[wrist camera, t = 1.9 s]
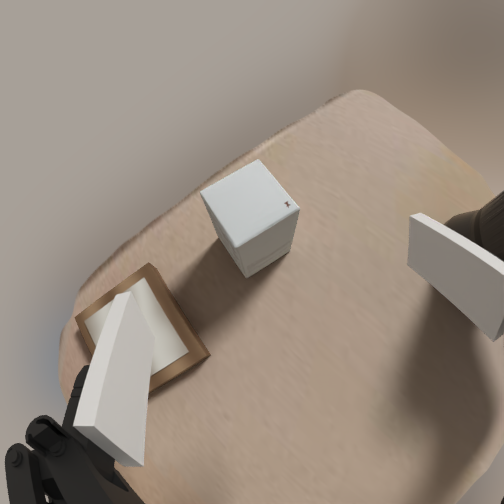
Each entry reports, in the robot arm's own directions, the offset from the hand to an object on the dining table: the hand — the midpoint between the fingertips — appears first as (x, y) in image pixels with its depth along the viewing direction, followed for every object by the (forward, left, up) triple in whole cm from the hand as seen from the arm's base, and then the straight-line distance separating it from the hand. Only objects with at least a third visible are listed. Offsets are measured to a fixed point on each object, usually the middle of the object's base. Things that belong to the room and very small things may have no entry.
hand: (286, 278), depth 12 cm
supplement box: (-4, -10, -25) cm, 27 cm away
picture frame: (+16, -8, -25) cm, 30 cm away
